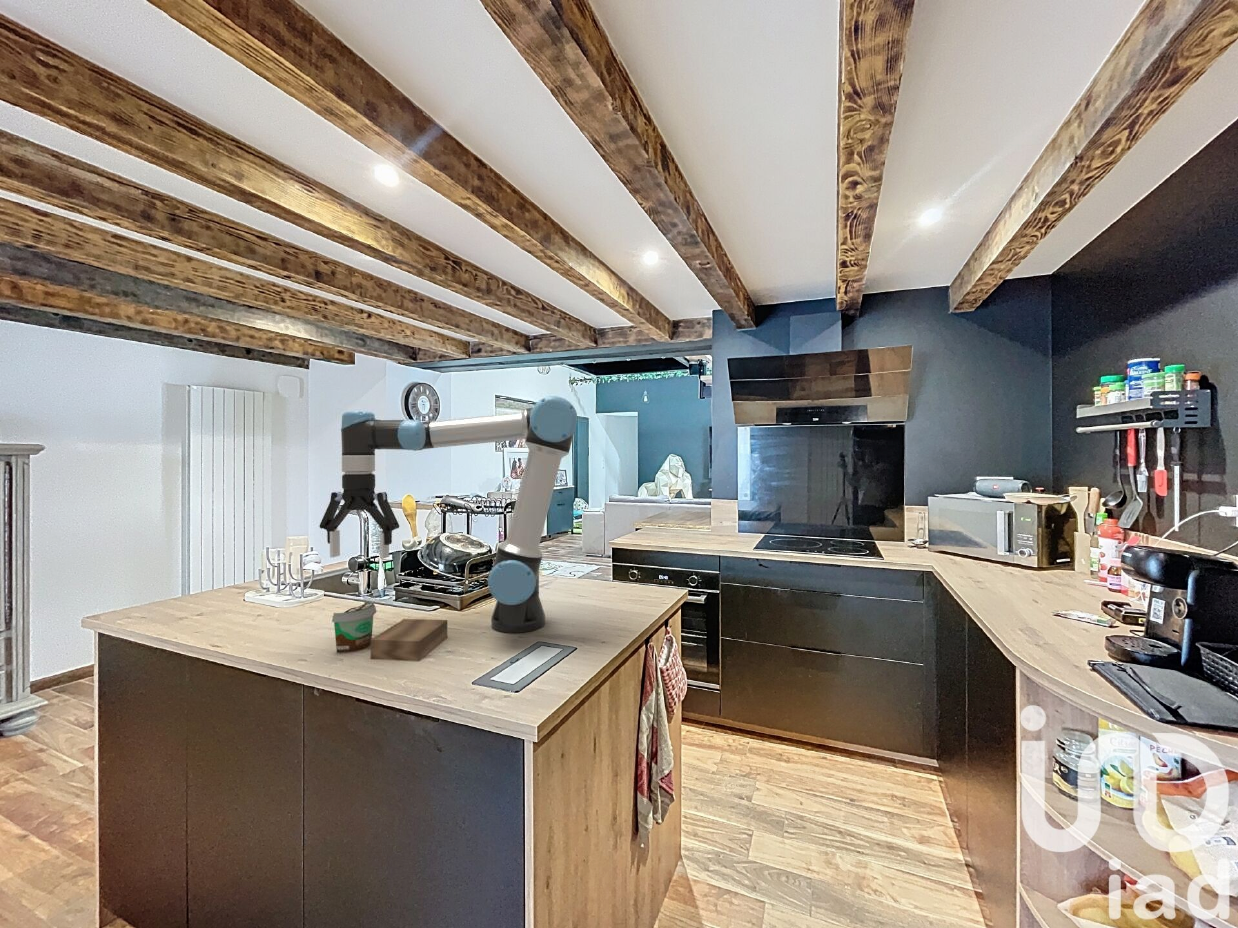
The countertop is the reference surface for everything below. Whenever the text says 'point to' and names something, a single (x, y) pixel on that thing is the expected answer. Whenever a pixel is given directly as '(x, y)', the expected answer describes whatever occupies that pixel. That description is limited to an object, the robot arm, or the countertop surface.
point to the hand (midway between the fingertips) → (359, 557)
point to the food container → (354, 627)
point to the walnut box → (409, 639)
